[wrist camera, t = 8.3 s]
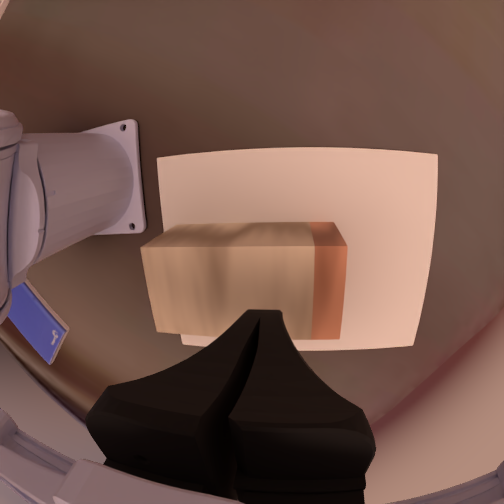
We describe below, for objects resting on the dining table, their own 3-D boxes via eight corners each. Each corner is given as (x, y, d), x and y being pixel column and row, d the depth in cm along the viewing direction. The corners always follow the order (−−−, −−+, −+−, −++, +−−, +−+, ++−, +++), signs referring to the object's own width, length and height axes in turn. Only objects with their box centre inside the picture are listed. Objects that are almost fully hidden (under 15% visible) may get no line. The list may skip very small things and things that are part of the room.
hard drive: (64, 333, 24) (-4, 248, 22) (48, 366, 26) (-11, 292, 25) (73, 325, 25) (6, 244, 24) (56, 359, 28) (-3, 287, 26)
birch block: (330, 296, 19) (185, 294, 20) (333, 221, 17) (176, 224, 19) (339, 339, 14) (156, 331, 16) (347, 246, 13) (140, 247, 14)
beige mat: (185, 340, 22) (182, 344, 22) (160, 157, 18) (156, 157, 18) (410, 341, 20) (412, 345, 19) (433, 154, 16) (437, 154, 15)
